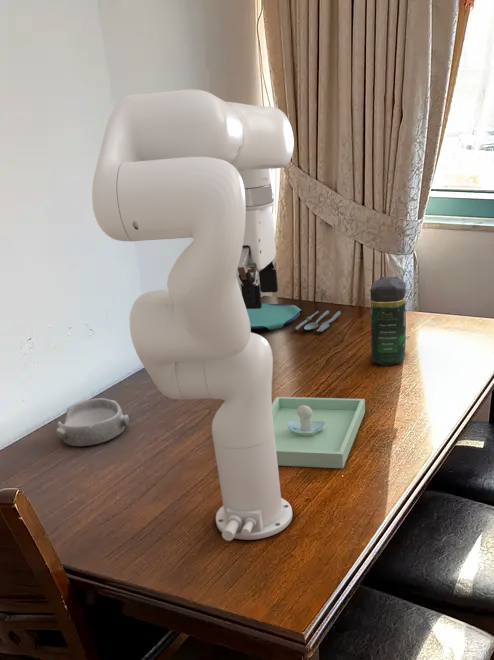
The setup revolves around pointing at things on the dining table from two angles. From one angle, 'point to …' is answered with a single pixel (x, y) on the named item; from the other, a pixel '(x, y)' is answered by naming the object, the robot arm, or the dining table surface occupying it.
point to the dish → (92, 422)
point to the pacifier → (305, 422)
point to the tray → (324, 445)
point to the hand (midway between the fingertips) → (261, 299)
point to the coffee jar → (388, 320)
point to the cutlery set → (283, 317)
